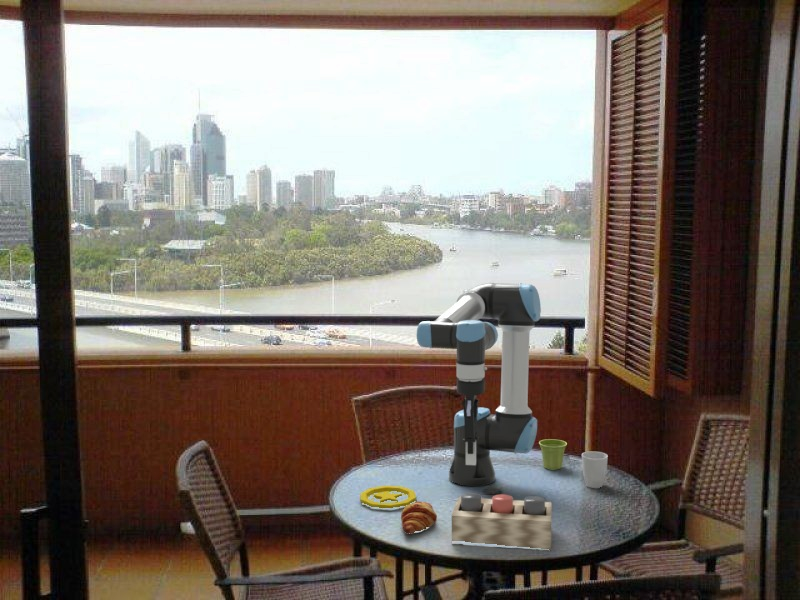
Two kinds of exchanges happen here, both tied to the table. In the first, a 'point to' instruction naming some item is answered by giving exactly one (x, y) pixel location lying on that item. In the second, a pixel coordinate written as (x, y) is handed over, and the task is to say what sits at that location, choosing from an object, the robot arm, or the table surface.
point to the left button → (471, 502)
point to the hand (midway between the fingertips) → (470, 464)
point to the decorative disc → (387, 496)
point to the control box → (502, 526)
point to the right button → (534, 506)
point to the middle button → (502, 504)
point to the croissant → (417, 517)
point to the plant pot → (552, 453)
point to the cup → (594, 468)
